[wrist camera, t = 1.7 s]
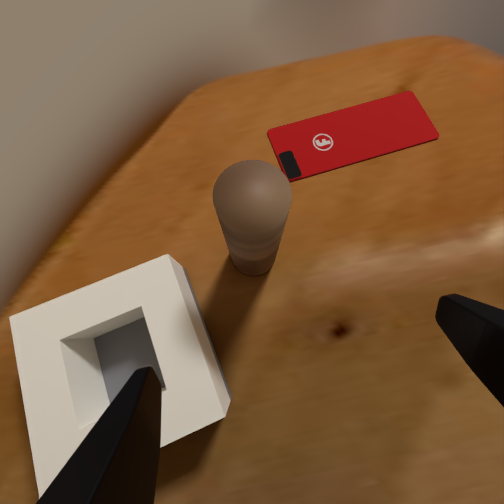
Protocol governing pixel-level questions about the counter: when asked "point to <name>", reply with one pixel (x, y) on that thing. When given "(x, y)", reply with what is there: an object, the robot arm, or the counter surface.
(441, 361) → the counter surface
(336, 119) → the electronic device
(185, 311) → the bore block
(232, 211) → the walnut pin
